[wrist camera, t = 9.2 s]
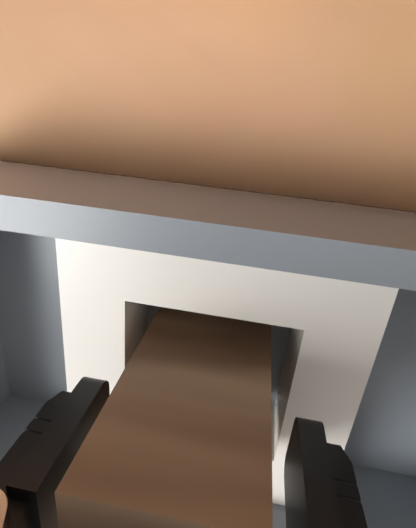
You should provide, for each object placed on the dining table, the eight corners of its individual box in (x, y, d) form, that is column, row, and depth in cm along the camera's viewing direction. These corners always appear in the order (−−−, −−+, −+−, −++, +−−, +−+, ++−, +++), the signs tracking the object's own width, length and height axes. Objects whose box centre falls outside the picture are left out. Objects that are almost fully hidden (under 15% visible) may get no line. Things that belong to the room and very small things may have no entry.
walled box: (-32, 156, 14) (-155, 173, 10) (550, 229, 12) (698, 289, 8) (7, 393, 19) (-66, 471, 15) (429, 477, 17) (481, 595, 13)
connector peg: (166, 294, 14) (54, 492, 7) (270, 310, 14) (272, 540, 6) (163, 376, 16) (69, 609, 8) (256, 393, 15) (244, 654, 8)
